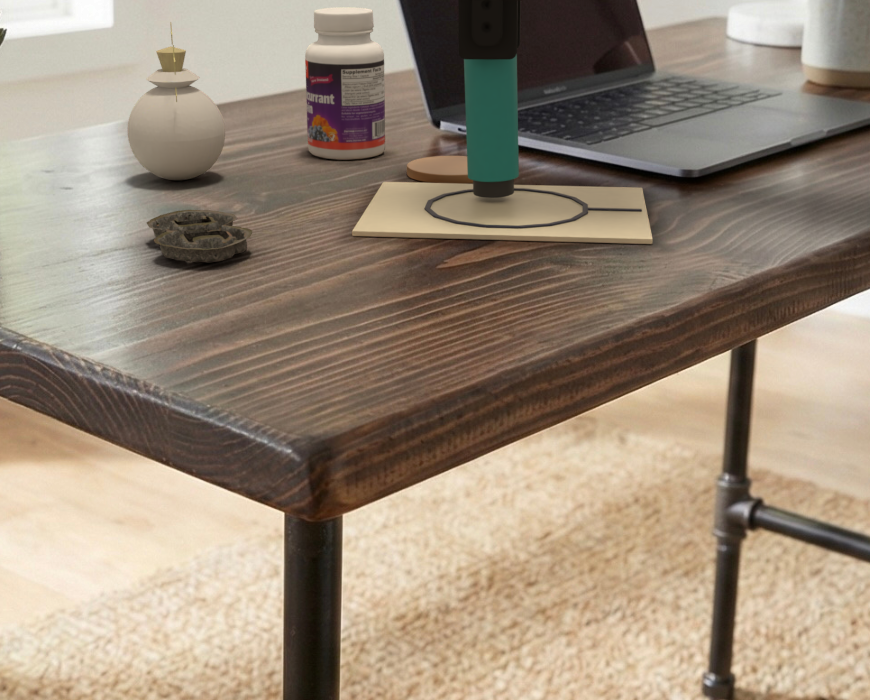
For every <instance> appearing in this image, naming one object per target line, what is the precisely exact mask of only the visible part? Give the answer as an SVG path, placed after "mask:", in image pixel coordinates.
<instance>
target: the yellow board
mask: <svg viewBox="0 0 870 700" xmlns="http://www.w3.org/2000/svg"><path fill="white" fill-rule="evenodd" d="M648 215H649V213H648V209H647V206H646V200H645V195H644V190H643V187H632V186H631V187H628V186H627V187H626V186H624V187H623V186H590V185H589V186H588V185H587V186H586V185H585V186H584V185H580V186H579V185H546V184H545V185H540V184H539V185H538V184H537V185H536V184H514V193H513V194H512V195H509V196H505V197H498V198H485V197H478V196H475V195H474V194H473V183H469V184H459V183H429V182H413V181H409V182H408V181H407V182H406V181H383V182H382V183H381V184H380V187H379V188H378V190H377V191H376V193H375V194H374V195H373V198H372V199H371V201H370V202H369V204H368V205H367V207H366V209H365V210H364V211H363V213H362V215H361V216H360V218H359V220H358V221H357V223H356V224H355V226H354V227H353V229H352V231H351V235H352V237H378V238H408V239H411V238H412V239H444V240H445V239H449V240H450V239H452V240H485V241H519V242H521V241H522V242H557V243H559V242H560V243H590V244H591V243H593V244H595V243H597V244H630V245H631V244H632V245H653V241H654V240H653V233H652V229H651V223H650V220H649V216H648Z"/></svg>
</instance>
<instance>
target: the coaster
mask: <svg viewBox="0 0 870 700" xmlns="http://www.w3.org/2000/svg"><path fill="white" fill-rule="evenodd" d="M406 175H407V177H408V178H410V179H412V180H415V181H418V182H422V183H459V184H473V180H471V179H469V178H468V169H467V155H436V156H427V157H420V158H416V159H413V160H411V161H409V162H408V163H407V164H406Z"/></svg>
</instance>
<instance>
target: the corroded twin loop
mask: <svg viewBox="0 0 870 700" xmlns="http://www.w3.org/2000/svg"><path fill="white" fill-rule="evenodd" d="M237 220H238V217H237V216H236V214H234V213H228V212H224V211H220V210H219V211H218V210H212V209H182V210H175V211H172V212H168V213H163V214H160V215H158V216H155V217H153V218H150V220H148V221H147V222H146V225H147V226H148V228H150V229H152V231H153V235H154V237H155V238H154V239H153V242H154V243H155V244H157V245H159V247H160V251H161V253H162V255H163V256H164V258H166V259H173V260H175V261H183V262H189V263H208V264H210V263H214V262H215V263H216V262H222V261H224V260H227V259H232V258H233V256H234V255H235V254H236V255H237V254H242V253H243V252H245V251H247V249H248V240H247V239H249V238H251V237H252V234H253V230H252V229H250V228H248V227H247V228H246V227H242V226H236V225H233V224H234V222H235V221H237Z"/></svg>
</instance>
